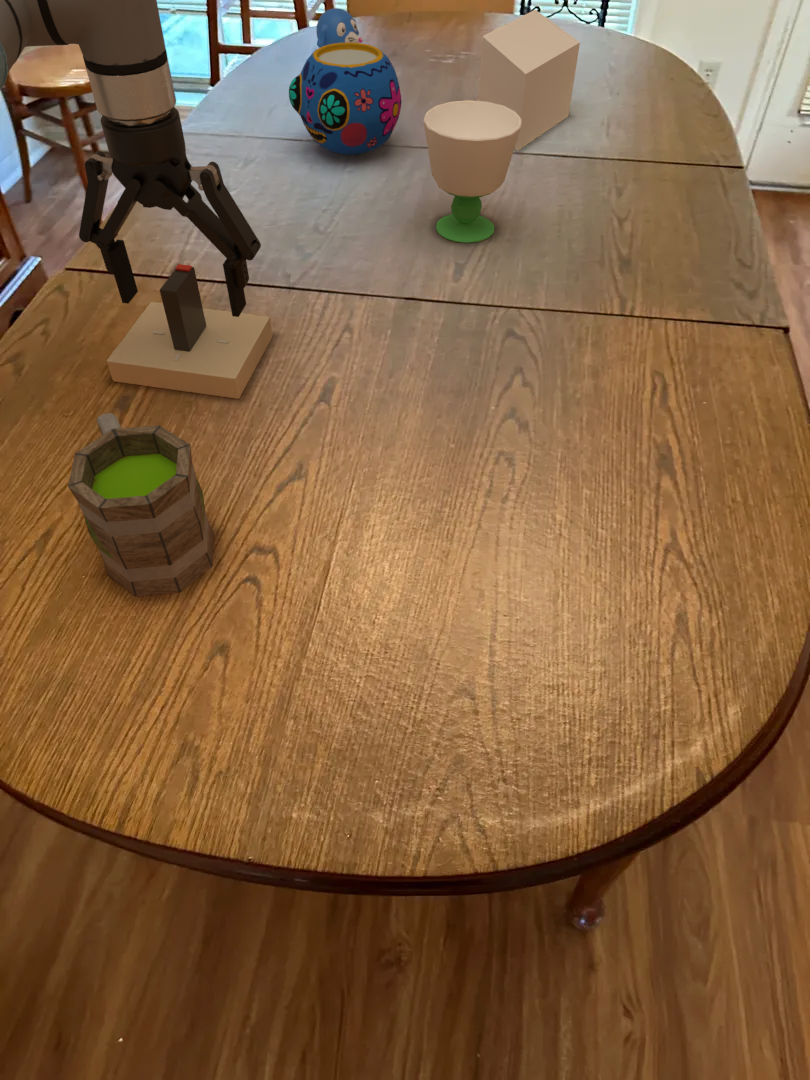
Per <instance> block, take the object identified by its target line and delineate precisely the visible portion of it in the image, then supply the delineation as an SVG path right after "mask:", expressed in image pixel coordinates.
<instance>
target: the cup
mask: <svg viewBox="0 0 810 1080" xmlns="http://www.w3.org/2000/svg"><path fill="white" fill-rule="evenodd" d="M422 122H423V127H424V133H425V139H426V140H425V141H426V146H427V151H428V157H429V165H430V171H431V176H432V177H433V179H434V181H435V183H436V185H437V186H438V188H439V189H441V190H442V191H444V192H445V193H447V194H448V195H451V196H454V197H453V199H452V203H451V207H450V208H451V214H447V215H445V216H442V217H441V218H440V219H439V220H437V222H436V225H435V230H436V232H437V234H438V235H439V236H441V237H443V239H445V240H448V241H451V242H455V243H462V244H473V243H479V242H482V241H485V240H488V239H489V238H490V237H492V236H493V235H494V234H495V233H494V232H495V225H494V224H493V222H492V221H491V220H489V219H488V218H487V217H485V216H482V215H481V211H482V208H483V205H482V200H481V198H483V197H485V196H488V195H491V194H493V193H494V192H496V191H497V190H498V189H499V188H500V187H501V186H502V185H503V183H504V182H505V180H506V177H507V173H508V170H509V168H510V163H511V161H512V158H513V155H514V150H515V149H514V148H515V145H516V141H517V138H518V135H519V132H520V128H521V123H522V119H521V118H520V117H519V116H518V114H517V113H516V112H515V111H513V110H511V109H509V108H507V107H505V106H503V105H499V104H494V103H490V102H484V101H478V100H470V99H469V100H468V99H467V100H457V101H456V100H455V101H448V102H444V103H441V104H438V105H435V106H434V107H432V108H430V109H429V110H428V111H426V112H425V115H424V117H423V120H422Z"/></svg>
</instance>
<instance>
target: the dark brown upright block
mask: <svg viewBox="0 0 810 1080" xmlns="http://www.w3.org/2000/svg"><path fill="white" fill-rule="evenodd" d="M159 293H160V299H161V303H163V306H164V310H165V314H166V318H167V322H168V326H169V330H170V334H171V338H172V342H173V346H174V349H175V350H182V351H191V349H192V347H193V346H194V344H195V343H196V341H197V340H198V338H199V337H200V335H201V334H202V332H203V330H204V329H205V327H206V322H205V317H204V312H203V308H204V307H203V303H202V299H201V298H202V297H201V293H200V289H199V284H198V279H197V274H196V269H195V266H192V265H189V264H181V263H178V264H177V265H176V266H175V267H174V270H173V271H172V272H171V274H170V275H169V277H168V278H167V279H166V280H165V282H164V283H163V285H162V286H161V287H160V288H159Z"/></svg>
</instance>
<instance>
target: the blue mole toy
mask: <svg viewBox="0 0 810 1080" xmlns="http://www.w3.org/2000/svg"><path fill="white" fill-rule="evenodd" d="M315 30H316V38H317V41H316V46H317V48H318V49H319V48H321V47H323V46H326V45H329V44H335V43H349V42H351V43H362V44H363V41H364V38H363V37H360V36H359V34H360V31H359V29H358V26H357V21H356V19H355V18H354V17H353V16H352V15H351V14H350V12H349V11H347V10H345V9H343V8H339V7H337V8H334V7H333V8H329V9H327V10H325V11H324V12H323V13H322V14H321V15H320V16H319V18H318V21H317V23H316V29H315Z"/></svg>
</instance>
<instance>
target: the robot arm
mask: <svg viewBox="0 0 810 1080" xmlns="http://www.w3.org/2000/svg"><path fill="white" fill-rule="evenodd" d="M69 45H78V47H79V49H80V52H81V55H82V59H83V63H84V67H85V70H86V73H87V78H88V81H89V84H90V88H91V92H92V96H93V101H94V103H95V107H96V111H97V112H98V113H99V114H100V115H102V116H101V117H100V125H101V128H102V132H103V136H104V139H105V143H106V147H107V151H108V154H109V155H110V157H107V155H106V154H105V153H104V152H103V151H101V150H97V151H95V153H93V154H92V155H91V156H90V157H89V158H87V160H85V162H84V170H85V174H86V180H87V184H86V190H85V197H84V202H83V208H82V213H81V221H80V225H79V232H78V237H79V240H80V241H82V243H89V242H90V243H91V244H92V243H93V244H94V245H96V247H97V248H98V249H99V251H100V253H101V256H102V259H103V263H104V266H105V269H106V271H107V272H108V274H111V275H112V274H113V275H114V280H115V283H116V286H117V289H118V292H119V297H120V299H121V303H122V304H128V305H129V304H130V303H131V301H132V300H133V299H134V298H135V296H136V295H137V293H139V290H138V286H137V282H136V279H135V275H134V272H133V269H132V265H131V262H130V258H129V255H128V251H127V248H126V244H125V240H124V239H116V238H117V236H118V235H119V232H120V231H121V229H122V227H123V226H124V224H125V222H126V220H127V219H128V217H129V216H130V214H131V212H132V210H133V209H134V207H135V205H136V204H137V203H139V204H140V205H142V207H143V208H149V209H151V208H159V209H162V210H167V211H168V210H169V211H172V209H174V210H176V212H177V213H179V215H180V216H181V217H184V218H187V219H188V220H189V221H190V222H191V223H192V224H193V225H194V226H195V227H196V228H197V229H198V230H199V231H200V233H202V234H203V236H204V237H205V238H206V239H207V240H208V241H209V242H210V243H211V244H212V245H213V246H214V247H215V248H216V249H217V251H219V252H220V253H221V254H222V255H223V257H225V258H226V259H225V260H224V262H223V263H222V266H223V273H224V278H225V284H226V289H227V294H228V300H229V305H230V312H232V316H234V317H239V316H240V314H241V313H243V311H244V309H245V308H246V306H247V300H246V299H247V298H246V294H245V288H246V287H247V285H248V283H249V280H250V274H249V268H248V261H253V260H254V258H255V257H256V256H257V254H258V252H259V251H260V250H261V247H262V244H261V242H260V240H259V238H258V236H256V233H255V232H254V230H253V228H252V226H251V225H250V224H249V222H248V221H247V219H246V217H245V215H244V214H243V212H242V211H241V209H240V208H239V206H238V204H237V203H236V201H235V199H234V198H233V196H232V194H231V193H230V191H229V190H228V188H227V187H226V185H225V183H224V180H223V175H222V172H221V169H220V166H219V164H218V163H217V162H215V161H210V162H208V164H207V165H205V166H204V165H202V166H201V165H199V166H198V165H197V166H193V165H192V164H191V163H190V161H189V160H188V156H187V149H186V140H185V136H184V130H183V126H182V121H181V116H180V111H179V110H178V109H177V108H176V107H175V106H176V104H177V96H176V91H175V86H174V82H173V78H172V73H171V69H170V62H169V57H168V53H167V48H166V44H165V37H164V32H163V27H162V21H161V16H160V11H159V5H158V1H157V0H0V91H1V90H2V89H3V87H4V86H5V85H6V83H7V79H8V76H9V73H10V71H11V69H12V67H13V66H14V64H16V62H17V61H18V59H19V58H20V56H21V54H22V53H23V51H24V50H25V48H28V47H29V48H30V47H50V46H53V47H54V46H69ZM112 176H114V177H115V178H116V179H117V181H118V182H119V183H120V184H121V185H122V186H123V188H124V190H123V192H122V193H121V195H120V197H119V199H118V200H117V204H116V205H115V207H114V209H113V211H112V213H111V214H110V216H109V217H108V219H107V221H106V223H105V225H104V226H103V228H101V222H102V218H103V217H102V216H103V213H104V212H103V211H104V207H105V202H106V201H105V200H106V196H107V191H108V186H109V179H110V178H111V177H112ZM193 181H194V182H195V183H196V184H197V185H198V190H199V191H201V192H202V191H203V192H204V193H203V194H204V196H205V198H206V199H207V200H206V201H208V203H209V205H210V206H211V208H212V209H213V210H212V209H211V208H210V207H209V206H208V205H207V203H206V202H205V201H204V200H203V198H202V194H201V193H200V192H199V191H198V190H197V189H196V187H194V185H193V184H192V182H193ZM185 197H186V198H187V201H185V200H184V198H185ZM115 239H116V240H115Z"/></svg>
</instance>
